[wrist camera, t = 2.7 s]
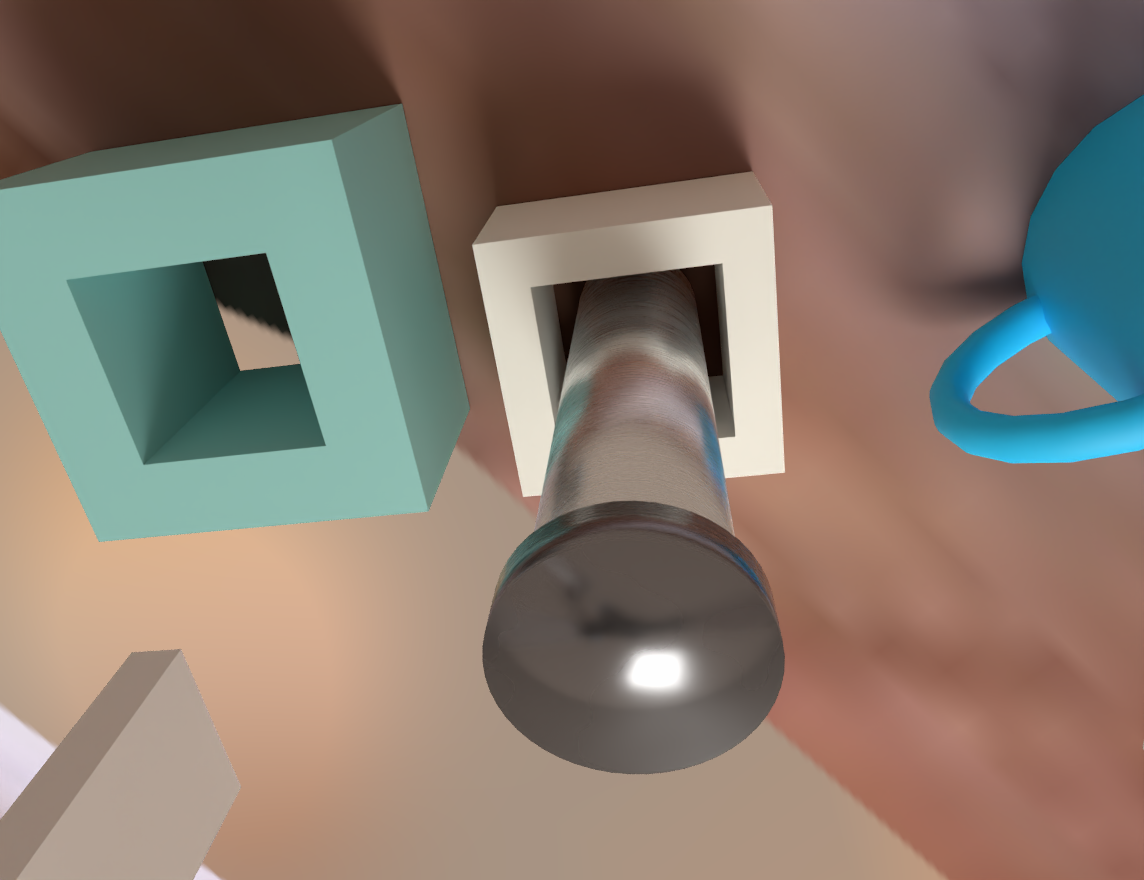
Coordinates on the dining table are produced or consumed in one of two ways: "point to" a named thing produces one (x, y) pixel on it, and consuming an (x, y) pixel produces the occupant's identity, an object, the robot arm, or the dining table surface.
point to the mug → (1068, 310)
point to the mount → (625, 247)
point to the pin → (634, 557)
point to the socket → (199, 339)
